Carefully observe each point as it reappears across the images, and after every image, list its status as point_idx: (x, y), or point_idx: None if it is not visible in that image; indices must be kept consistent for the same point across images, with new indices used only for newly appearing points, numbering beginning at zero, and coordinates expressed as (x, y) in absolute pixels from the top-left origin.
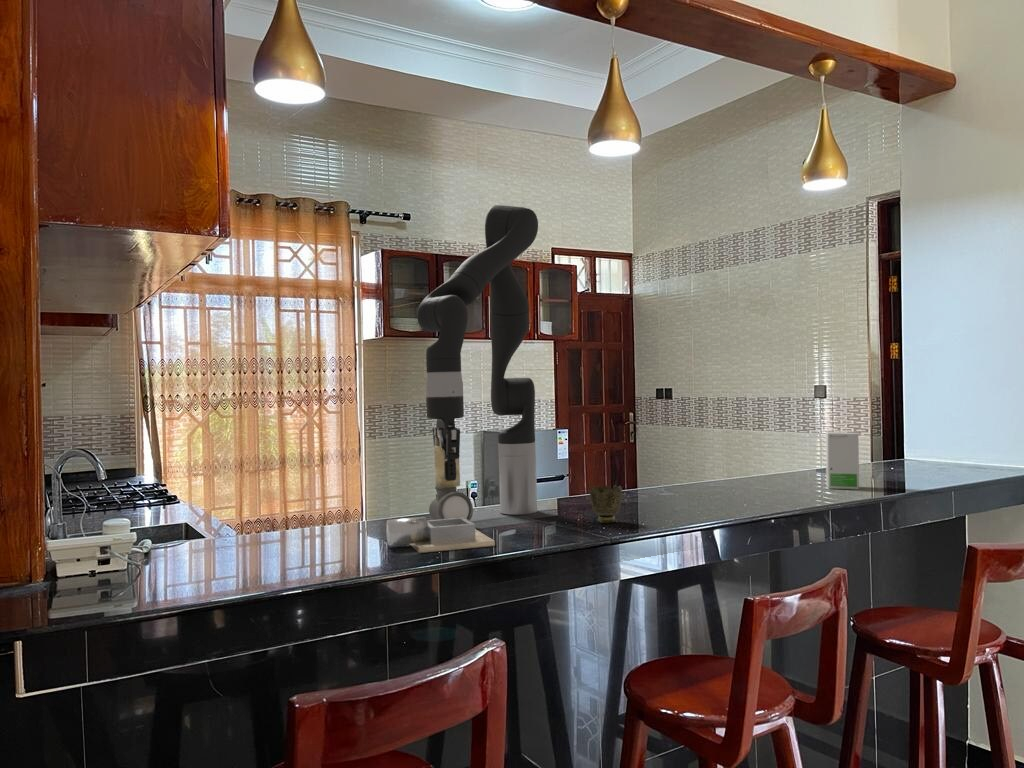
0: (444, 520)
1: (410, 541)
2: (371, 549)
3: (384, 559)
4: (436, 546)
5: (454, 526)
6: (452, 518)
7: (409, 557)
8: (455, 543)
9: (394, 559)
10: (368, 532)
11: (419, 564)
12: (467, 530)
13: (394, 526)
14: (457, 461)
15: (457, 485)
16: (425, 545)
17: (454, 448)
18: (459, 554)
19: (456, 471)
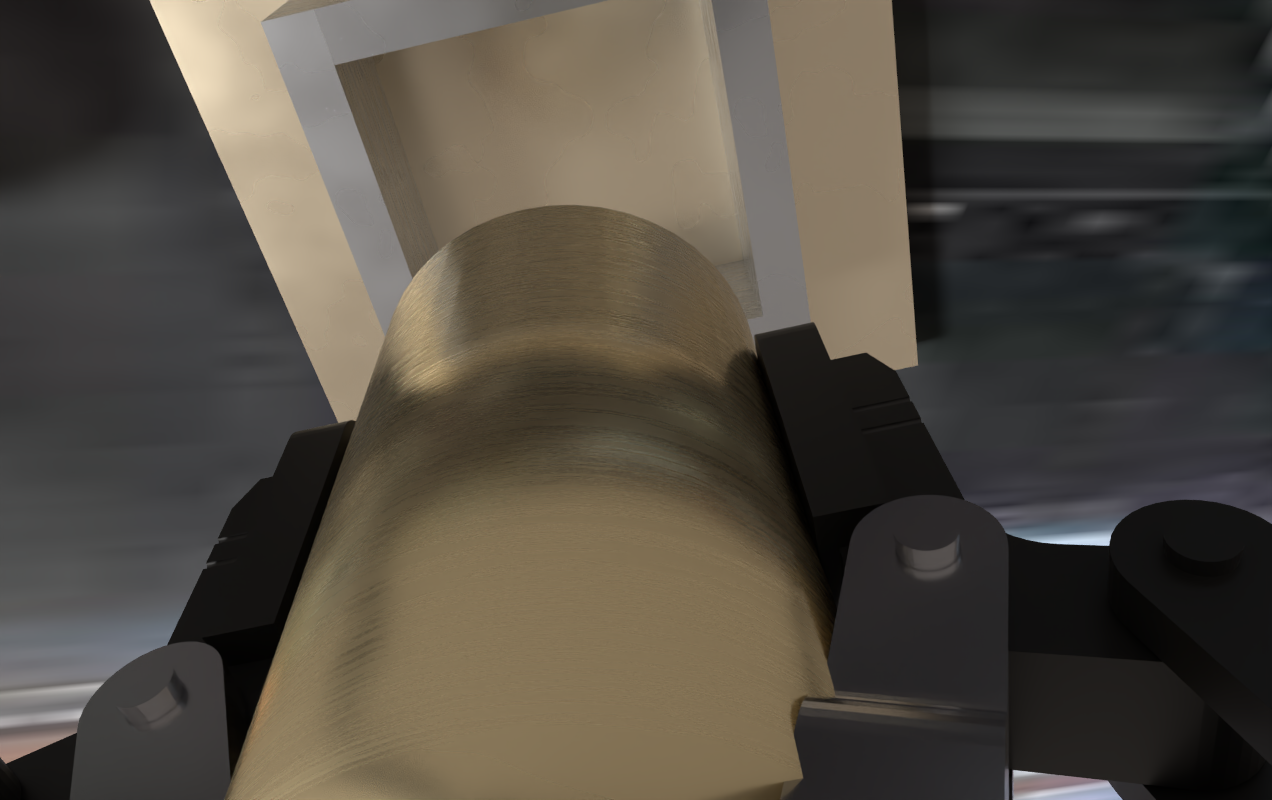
0: (393, 227)
1: None
2: None
3: (1003, 524)
4: (906, 245)
5: (785, 135)
6: (317, 148)
7: (1014, 397)
8: (864, 93)
9: (1030, 475)
10: (78, 678)
11: (1255, 331)
12: None
13: None
14: (728, 463)
15: (689, 250)
16: (851, 324)
17: (1007, 776)
18: (1081, 55)
19: (737, 372)
